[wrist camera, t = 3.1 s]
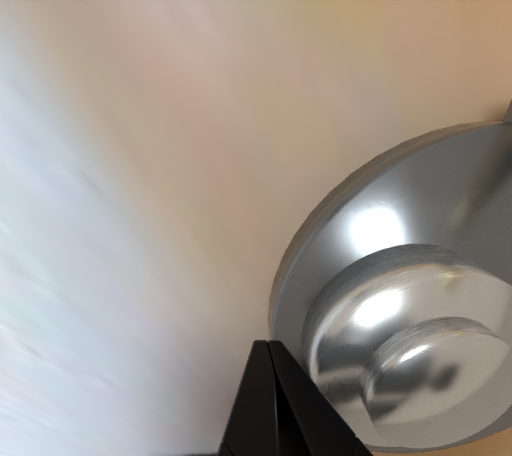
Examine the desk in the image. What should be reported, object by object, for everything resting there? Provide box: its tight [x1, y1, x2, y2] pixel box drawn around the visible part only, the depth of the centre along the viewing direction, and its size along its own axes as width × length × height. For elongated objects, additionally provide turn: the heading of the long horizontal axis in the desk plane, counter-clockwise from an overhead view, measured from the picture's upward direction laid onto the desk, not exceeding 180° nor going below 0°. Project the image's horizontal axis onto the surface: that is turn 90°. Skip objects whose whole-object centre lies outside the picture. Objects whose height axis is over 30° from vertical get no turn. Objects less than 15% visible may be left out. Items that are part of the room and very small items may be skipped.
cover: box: [301, 244, 512, 448], centre depth 9 cm, size 7×7×3 cm
